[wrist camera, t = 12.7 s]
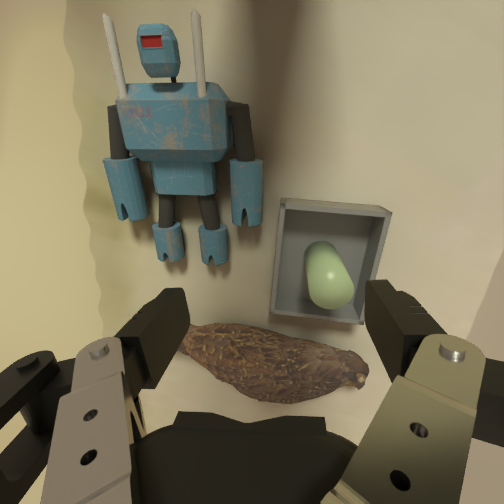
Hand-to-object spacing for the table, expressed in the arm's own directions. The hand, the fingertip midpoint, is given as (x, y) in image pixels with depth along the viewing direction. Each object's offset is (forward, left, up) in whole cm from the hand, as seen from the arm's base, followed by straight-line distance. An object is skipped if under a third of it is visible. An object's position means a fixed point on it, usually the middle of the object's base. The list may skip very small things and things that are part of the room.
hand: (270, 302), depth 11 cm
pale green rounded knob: (+8, +7, -29) cm, 31 cm away
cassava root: (+27, -3, -30) cm, 41 cm away
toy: (-4, -14, -30) cm, 34 cm away
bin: (+8, +7, -30) cm, 32 cm away
